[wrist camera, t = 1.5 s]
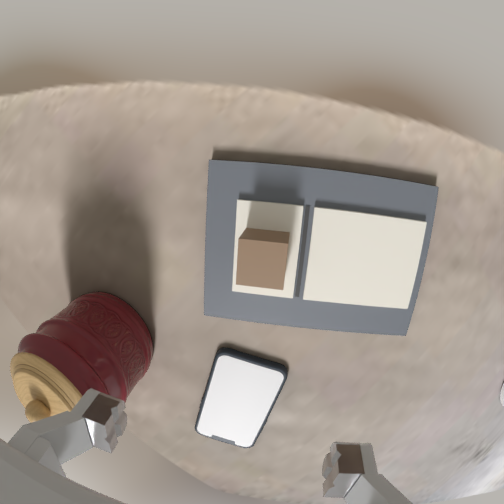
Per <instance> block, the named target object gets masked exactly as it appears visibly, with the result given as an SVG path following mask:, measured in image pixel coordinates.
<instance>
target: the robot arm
mask: <svg viewBox="0 0 504 504" xmlns="http://www.w3.org/2000/svg"><path fill="white" fill-rule="evenodd" d="M500 400H501V404H502V405H503V406H504V383H503V386H502V389H501V394H500ZM124 409H125V401H123V400H120V399H118V398H115V397H112V396H110V395H107V394H105V393H102V392H99V391H97V390H94V389H92V388H91V389H89V390H87V391H86V393H85V394H84V395H83V396H82V398H81V399H80V400H79V401H78V403H77V404H76V405H75V407H74V408H73V409H72V410H71V412H69V411H65V412H62V413H59V414H56V415H53V416H50V417H47V418H44V419H41V420H38V421H35V422H32V423H29V424H26V425H23V426H22V427H21V428H20V429H19V431H18V432H17V433H16V434H15V435H14V436H13V437H12V439H11V440H10V441H9V442H8V443H6V442H5V441H3V440H2V439H0V504H126V503H123V502H121V501H118V500H115V499H113V498H110V497H108V496H105V495H103V494H101V493H98V492H96V491H94V490H92V489H89V488H87V487H85V486H83V485H80V484H78V483H76V482H74V481H72V480H70V479H68V478H66V475H65V473H64V471H63V469H62V467H61V464H63V463H65V462H67V461H69V460H71V459H72V458H74V457H76V456H78V455H80V454H82V453H84V452H86V451H87V450H89V449H91V448H92V447H96V448H99V449H101V450H104V451H106V452H109V453H112V452H113V450H114V448H115V446H116V445H117V443H118V440H117V437H118V436H120V435H122V434H123V432H124V430H125V428H126V424H127V414H126V413H125V412H124V411H123V410H124ZM322 475H323V476H324V478H325V479H326V480H325V481H324V483H323V497H334V498H344V500H345V501H346V503H347V504H413V503H411V502H410V501H409V500H408V499H407V498H406V497H405V496H404V495H403V494H402V493H401V492H400V491H399V490H397V489H396V488H395V487H394V486H393V485H392V484H391V483H390V482H389V481H388V480H387V479H386V478H385V477H384V476H383V475H382V474H378V471H377V467H376V462H375V457H374V452H373V448H372V445H371V444H370V443H345V442H334V443H332V445H331V447H330V453H328V454H327V455H326V457H325V459H324V462H323V468H322Z"/></svg>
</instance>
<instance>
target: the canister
mask: <svg viewBox="0 0 504 504" xmlns="http://www.w3.org/2000/svg"><path fill="white" fill-rule="evenodd" d="M152 356H153V343H152V338H151V335H150V333H149V330H148V328H147V326H146V324H145V323H144V321H143V320H142V318H141V317H140V316H139V314H138V313H137V312H136V311H135V310H134V309H133V308H132V307H131V306H130V305H128V304H127V303H126V302H124V301H123V300H121V299H120V298H118V297H116V296H114V295H111V294H108V293H104V292H91V293H88V294H85V295H82V296H79V297H77V298H76V299H75V300H73V301H72V302H71V303H70V304H69V305H68V306H67V307H66V308H65V309H63V310H62V311H61V312H59V313H58V314H57V315H55V316H54V317H53V318H51V319H50V320H47V321H45V322H43V323H42V324H41V325H40V326H39V328H38V329H37V332H36V333H32V334H28V335H26V336H25V337H24V338H23V339H22V340H21V342H20V344H19V347H18V353H17V354H16V355H14V357H13V358H12V360H11V364H10V371H11V376H12V379H13V384H14V388H15V391H16V394H17V396H18V398H19V400H20V401H21V403H22V404H23V406H24V407H25V414H26V417H27V419H28V420H29V421H30V422H31V423H32V422H35V421H38V420H41V419H44V418H47V417H50V416H53V415H56V414H59V413H62V412H65V411H69V412H71V410H72V409H73V408H74V407H75V405H76V404H77V403H78V401H79V400H80V399H81V398H82V396H83V395H84V394H85V393H86V391H87V390H89V389H91V388H92V389H94V390H97V391H99V392H102V393H105V394H107V395H110V396H112V397H115V398H118V399H120V400H123V401H125V402H126V399H127V397H128V395H129V394H130V393H131V391H132V390H133V388H134V387H135V385H136V384H137V382H138V381H139V380H140V379H141V378H142V377H143V376H144V375H145V373H146V372H147V370H148V368H149V366H150V362H151V359H152Z"/></svg>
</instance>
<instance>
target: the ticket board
mask: <svg viewBox="0 0 504 504" xmlns="http://www.w3.org/2000/svg"><path fill="white" fill-rule="evenodd" d="M438 188H439V187H436V186H432V185H427V184H421V183H416V182H410V181H404V180H399V179H393V178H386V177H380V176H374V175H367V174H360V173H353V172H345V171H337V170H329V169H321V168H312V167H303V166H293V165H282V164H271V163H258V162H244V161H228V160H209V170H208V189H207V212H206V240H205V282H204V315H207V316H213V317H220V318H227V319H234V320H242V321H249V322H257V323H265V324H273V325H282V326H291V327H300V328H310V329H320V330H331V331H343V332H355V333H369V334H384V335H401V336H406V334H407V330H408V327H409V324H410V320H411V317H412V313H413V310H414V306H415V303H416V299H417V295H418V291H419V287H420V283H421V279H422V275H423V271H424V267H425V262H426V257H427V253H428V248H429V243H430V238H431V232H432V227H433V221H434V215H435V209H436V202H437V195H438ZM238 199H241V200H252V201H263V202H274V203H284V204H294V205H303V216H302V226H301V235H300V244H299V253H298V261H297V269H296V277H295V285H294V293H293V298H285V297H276V296H267V295H259V294H251V293H242V292H235V291H232V283H233V264H234V246H235V228H236V211H237V200H238Z"/></svg>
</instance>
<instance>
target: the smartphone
mask: <svg viewBox="0 0 504 504" xmlns="http://www.w3.org/2000/svg"><path fill="white" fill-rule="evenodd" d="M287 374H288V371H287V368H286V367H285V366H284V365H282V364H279V363H276V362H273V361H269V360H266V359H262V358H259V357H256V356H253V355H250V354H246V353H243V352H240V351H237V350H234V349H231V348H221V349H219V350H218V351H217V353H216V356H215V359H214V362H213V366H212V369H211V373H210V376H209V380H208V383H207V386H206V390H205V393H204V397H203V398H202V401H201V404H200V411H199V414H198V417H197V421H196V424H195V430H196V432H197V433H199V434H200V435H203V436H206V437H209V438H212V439H215V440H218V441H222V442H225V443H228V444H232V445H235V446H239V447H242V448H250V447H252V446H254V444H255V442H256V440H257V438H258V436H259V434H260V433H261V431H262V429H263V427H264V426H265V424H266V422H267V418H268V416H269V414H270V412H271V410H272V408H273V406H274V404H275V402H276V400H277V398H278V396H279V394H280V392H281V390H282V388H283V385H284V383H285V381H286V379H287Z"/></svg>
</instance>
